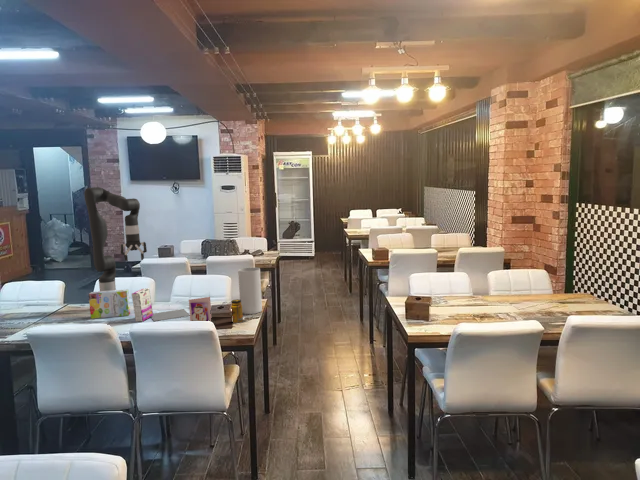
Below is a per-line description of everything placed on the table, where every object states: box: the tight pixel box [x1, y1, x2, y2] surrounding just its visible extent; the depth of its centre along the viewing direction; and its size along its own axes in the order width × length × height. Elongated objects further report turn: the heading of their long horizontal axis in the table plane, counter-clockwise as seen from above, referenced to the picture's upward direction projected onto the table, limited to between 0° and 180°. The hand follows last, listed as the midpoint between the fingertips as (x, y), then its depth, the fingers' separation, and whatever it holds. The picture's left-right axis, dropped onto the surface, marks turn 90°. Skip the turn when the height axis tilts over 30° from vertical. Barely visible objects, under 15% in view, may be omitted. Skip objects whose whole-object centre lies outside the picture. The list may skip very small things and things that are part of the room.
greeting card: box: [188, 296, 212, 322], centre depth 267 cm, size 11×7×15 cm, turn 82°
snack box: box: [88, 288, 131, 320], centre depth 294 cm, size 21×6×15 cm, turn 100°
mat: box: [150, 308, 190, 322], centre depth 292 cm, size 20×17×1 cm
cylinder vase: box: [237, 267, 263, 315], centre depth 292 cm, size 12×12×25 cm
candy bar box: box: [131, 287, 154, 323], centre depth 285 cm, size 11×5×16 cm, turn 169°
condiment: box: [230, 298, 249, 325], centre depth 274 cm, size 7×8×12 cm
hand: (134, 260), depth 295 cm, fingers open, 8 cm apart
